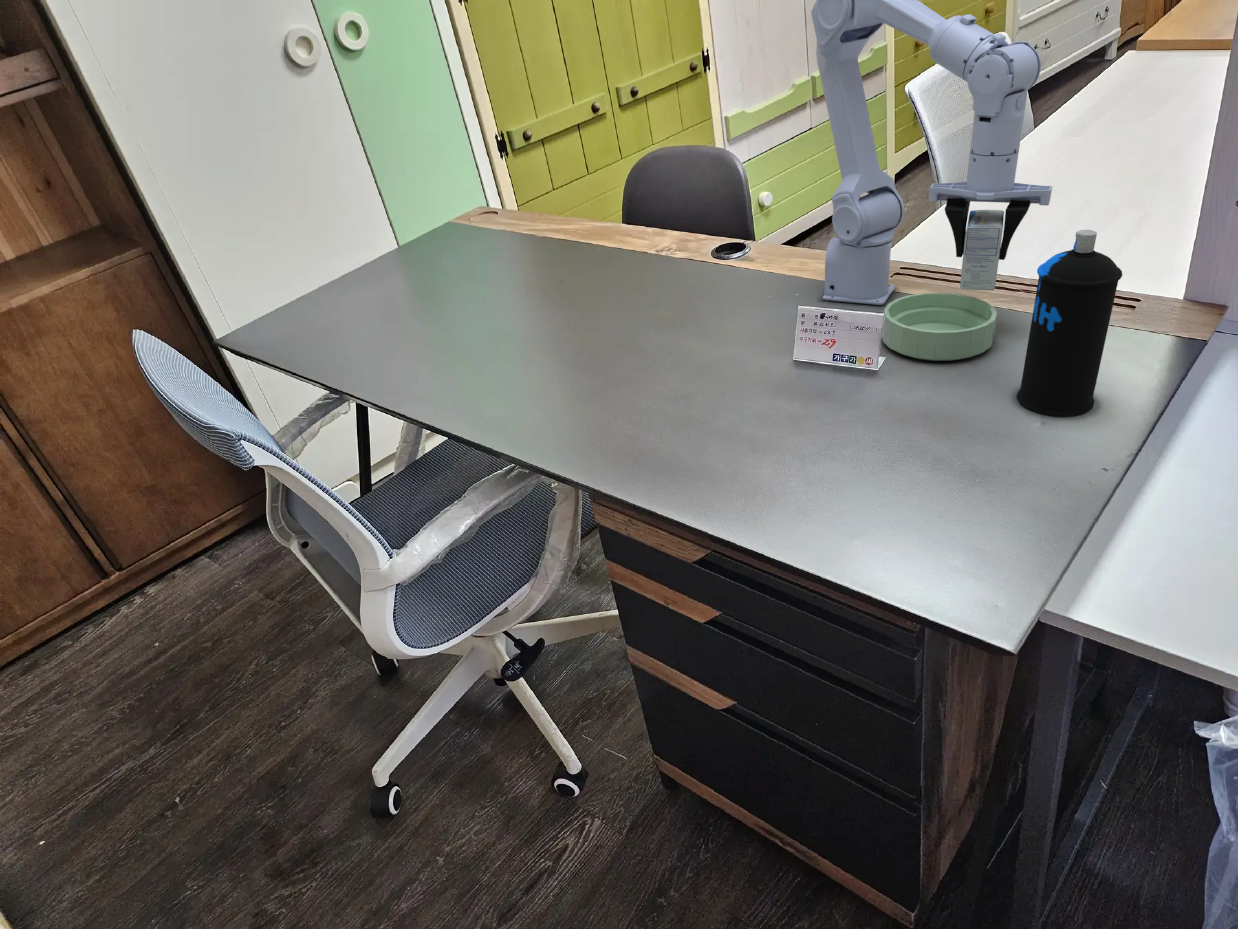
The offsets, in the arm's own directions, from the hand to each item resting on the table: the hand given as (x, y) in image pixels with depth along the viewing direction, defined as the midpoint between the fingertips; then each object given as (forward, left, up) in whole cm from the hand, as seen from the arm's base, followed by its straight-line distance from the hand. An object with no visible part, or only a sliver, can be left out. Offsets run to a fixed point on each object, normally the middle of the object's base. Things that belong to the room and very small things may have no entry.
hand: (980, 256), depth 114 cm
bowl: (-4, -6, -10) cm, 13 cm away
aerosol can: (+12, -19, -11) cm, 25 cm away
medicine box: (0, 0, -4) cm, 4 cm away
